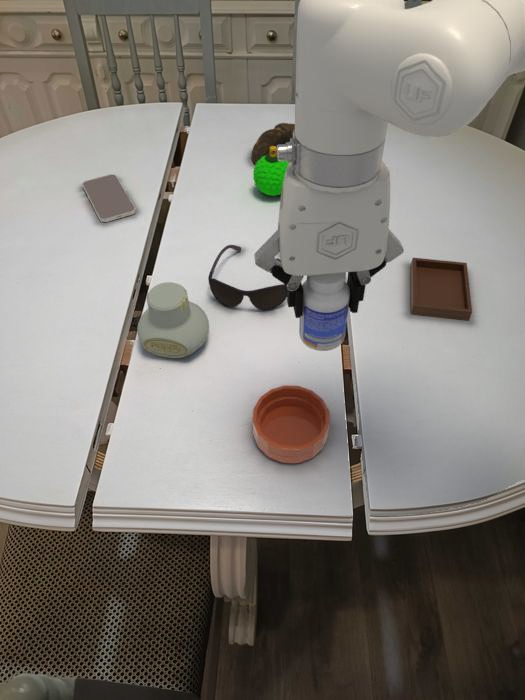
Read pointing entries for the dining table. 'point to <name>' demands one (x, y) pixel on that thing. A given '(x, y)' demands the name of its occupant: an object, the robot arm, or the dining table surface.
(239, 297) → the sunglasses
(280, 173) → the ornament
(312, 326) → the pill bottle
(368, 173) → the robot arm
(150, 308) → the air freshener
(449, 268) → the tray
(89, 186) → the smartphone
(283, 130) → the brown curved chunk
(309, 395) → the bowl
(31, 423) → the dining table surface
